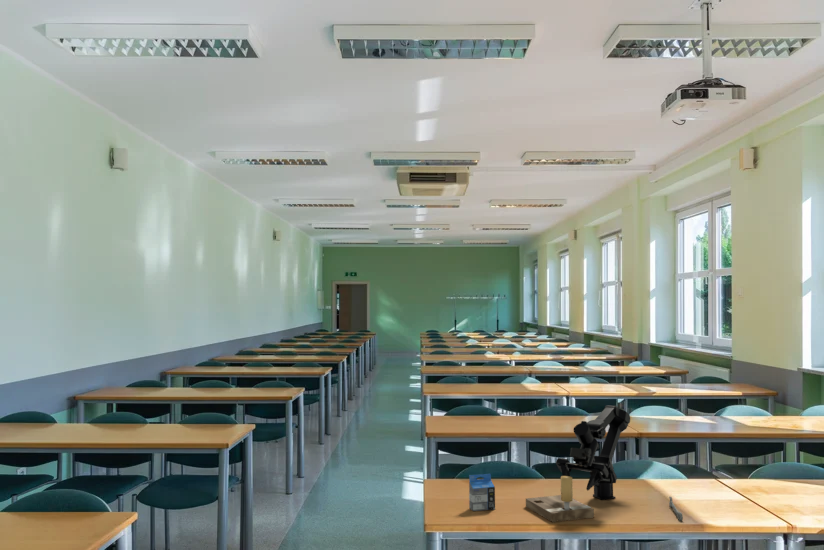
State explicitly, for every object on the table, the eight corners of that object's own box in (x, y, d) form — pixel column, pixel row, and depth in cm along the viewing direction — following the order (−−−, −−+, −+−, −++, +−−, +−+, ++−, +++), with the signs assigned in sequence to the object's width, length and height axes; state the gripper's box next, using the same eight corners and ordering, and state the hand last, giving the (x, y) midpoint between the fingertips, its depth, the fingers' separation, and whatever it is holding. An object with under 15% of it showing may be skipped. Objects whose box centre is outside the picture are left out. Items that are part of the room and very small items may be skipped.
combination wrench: (682, 512, 234) (672, 495, 253) (678, 512, 234) (668, 495, 253) (682, 523, 233) (672, 505, 253) (679, 523, 234) (668, 505, 253)
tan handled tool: (566, 515, 242) (565, 475, 243) (575, 517, 238) (574, 477, 239) (558, 517, 239) (558, 476, 240) (568, 519, 236) (567, 478, 237)
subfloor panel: (565, 502, 258) (564, 494, 258) (594, 517, 238) (593, 508, 239) (525, 506, 253) (525, 498, 253) (552, 522, 234) (551, 513, 234)
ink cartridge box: (472, 511, 247) (472, 477, 248) (469, 508, 251) (468, 475, 252) (495, 509, 250) (494, 475, 250) (491, 506, 253) (490, 473, 254)
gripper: (557, 436, 256) (544, 471, 247) (604, 441, 244) (592, 478, 235) (567, 453, 261) (554, 488, 252) (613, 459, 250) (602, 496, 241)
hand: (575, 487), depth 245 cm, fingers open, 9 cm apart
